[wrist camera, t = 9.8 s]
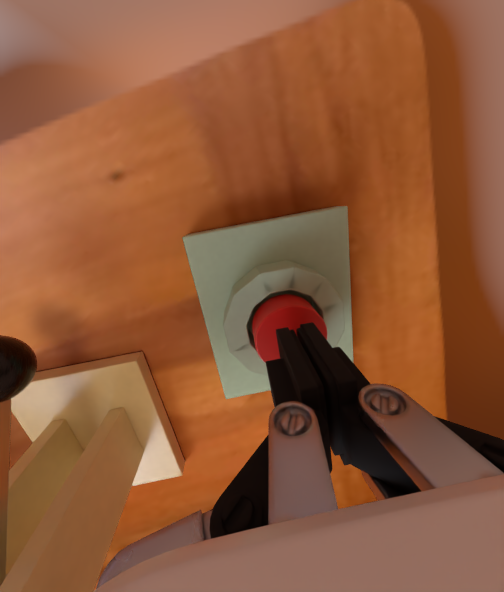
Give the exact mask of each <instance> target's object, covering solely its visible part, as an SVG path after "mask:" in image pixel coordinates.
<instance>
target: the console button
mask: <svg viewBox="0 0 504 592" xmlns="http://www.w3.org/2000/svg"><path fill="white" fill-rule="evenodd" d="M310 322H313V323H314V324H315V325H316V327H317V328H318V329H319V331H320V332H321V333H322V335H323V336H324V337H325V339H326V340H327V327H326V324H325V322H324V320H323V319H322V317H321V316H320V315H319V314H318V312H317V311H316V310H315V309H314V308H313V307H312V306H311V304H310V303H309V302H308V301H306V300H305V299H303V298H302V297H299V296H296V295H292V294H283V295H278V296H274V297H272V298H270V299H268V300H267V301H265V302H264V303H263V304H262V305H261V306H260V307H259V308H258V310H257V311H256V313H255V315H254V318H253V322H252V331H253V337H254V342H255V347H256V351H257V353H258V355H259V357H260V358H261V359H262V360H263V361H264V362H265V363H266V361H270V360H275V359H280V354H279V348H278V342H277V336H276V329H280V328H285V327H288V328H289V330H292V329H293V330H294V331H295V333H296V335H297V332H296V329H297V328H300V324H305V323H310Z"/></svg>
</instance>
